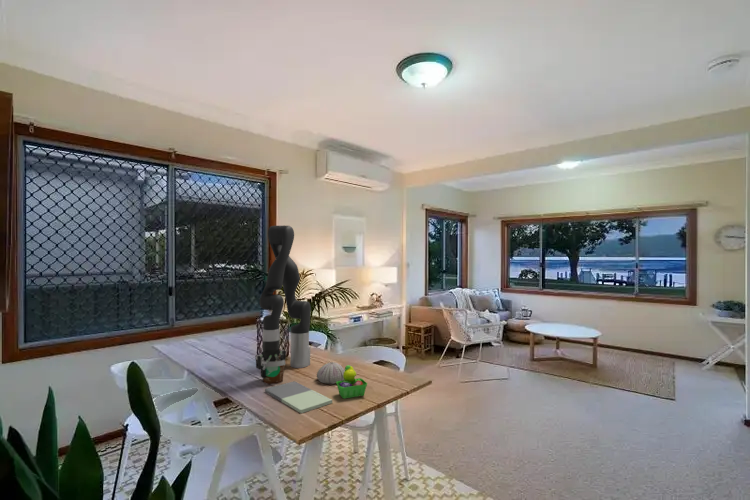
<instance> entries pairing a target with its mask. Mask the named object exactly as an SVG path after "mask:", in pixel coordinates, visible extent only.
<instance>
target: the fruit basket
mask: <svg viewBox="0 0 750 500" xmlns="http://www.w3.org/2000/svg"><path fill="white" fill-rule="evenodd" d="M344 370H345V371H344V374H343V378H344V380H343V381H337V382H336V383H335V384H336V385H337V390H338V394H339V396H340V397H341V398H342V399H348V398H349V399H350V398H355V397H363V395H365V392H366V389H367V386H368V382H366V380H364V379H363V378H361V377H360V378H359V377H358V378H355V377H357V372H356V370H355V369H354V367H353V366H351V365H350V364H349V365H346V366H345V368H344Z"/></svg>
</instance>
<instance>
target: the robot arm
mask: <svg viewBox="0 0 750 500" xmlns="http://www.w3.org/2000/svg"><path fill="white" fill-rule="evenodd" d="M267 239H268V242H269V245H270V247H271V250H272V253H273V255H274V260H273V262H272V263H271V265H270V267H269V269H268V274H267V278H266V284H265V286H264V288H263V291H262V293H261V294H260V297H259V306H260V308H261V309H263V310H265V311H271V313H270V314H268V315H265V316H264V317H263V320H262V322H263V324H262V342H261V343H262V348H261V349H262V353H261V354H256V355H255V367H256V369H257V370H260V377H261V378H262V379H263V378H265V368H266V366H265V365H267V363H268V362H272V361H275V360H276V361H282V360H285V361H286V358H287V357H286V355H287V351H286V350H284V349H281V350H280V347H281V343H280V342H281V333H280V331H281V329H280V319H281V316H282V311H283V307H284V302H286V310H287V314H288V315H289V318H291V319H297V320H299V323H297V324H294V325H292V326H291V327H290V358H289V359H290V360H289V361H290V362H289V364H290V367H291V368H295V369H298V368H299V369H301V368H306V367H308V366H310V365H311V346H310V326H311V314H312V313H311V312H312V307H311V303H310V302H309V301H307V300H306V301H305V300H297V298H296V291H297V288H298V286H299V283H300V280H301V277H300V271H299V267H298V265H297V264H296V262H295V261H294V260H293V259H292V258H291V256H290V254H291V251H292V246H293V243H294V241H295V231H294V228H293V227H292V226H290V225H271V226H269V228H268V230H267ZM282 288H283V292H284V296H285V301H284V299H283V296H282V295H280V294H274V293H275V291H278V290H281V289H282ZM279 356H280V358H279ZM262 358H264V359H263V360H264V361H266V362H263V361H262V364H261V360H262ZM263 364H264V365H263ZM262 365H263V366H262Z"/></svg>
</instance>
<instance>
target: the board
mask: <svg viewBox="0 0 750 500" xmlns="http://www.w3.org/2000/svg"><path fill="white" fill-rule="evenodd" d="M264 392H265V393H267V395H270V396H271V397H273V398H275V399H276V400H278V401H279V402H281V403H282V404H285V405H286V406H288V407H290V408H291V409H292V410H294V411H296V412H298V413H300V414H304V413H307V412H309V411H312V410H315V409H319V408H321V407H324V406H327V405H331V404H333V399H331V398H329V397H328V396H326V395H323V394H321V393H319V392H318V391H315V390H313V389H311V388H309V387H307V386H305V385H303V384H301V383H300V382H298V381H295V380H294V381H289V382H286V383H283V384H279V385H275V386H271V387H267V388H264Z"/></svg>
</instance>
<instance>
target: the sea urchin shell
mask: <svg viewBox="0 0 750 500" xmlns="http://www.w3.org/2000/svg"><path fill="white" fill-rule="evenodd" d="M344 371H345V368H344V367H343V366H342V365H341V364H340V363H338V362H333V361H332V362H328V363H326V364H323V365H322V366H321V367H320V368H319V369H318V371H317V372H316V373H317V374H316V379H317V380H318V382H320V383H322V384H336V382H337V381H343V380H344V378H343V374H344Z"/></svg>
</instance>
